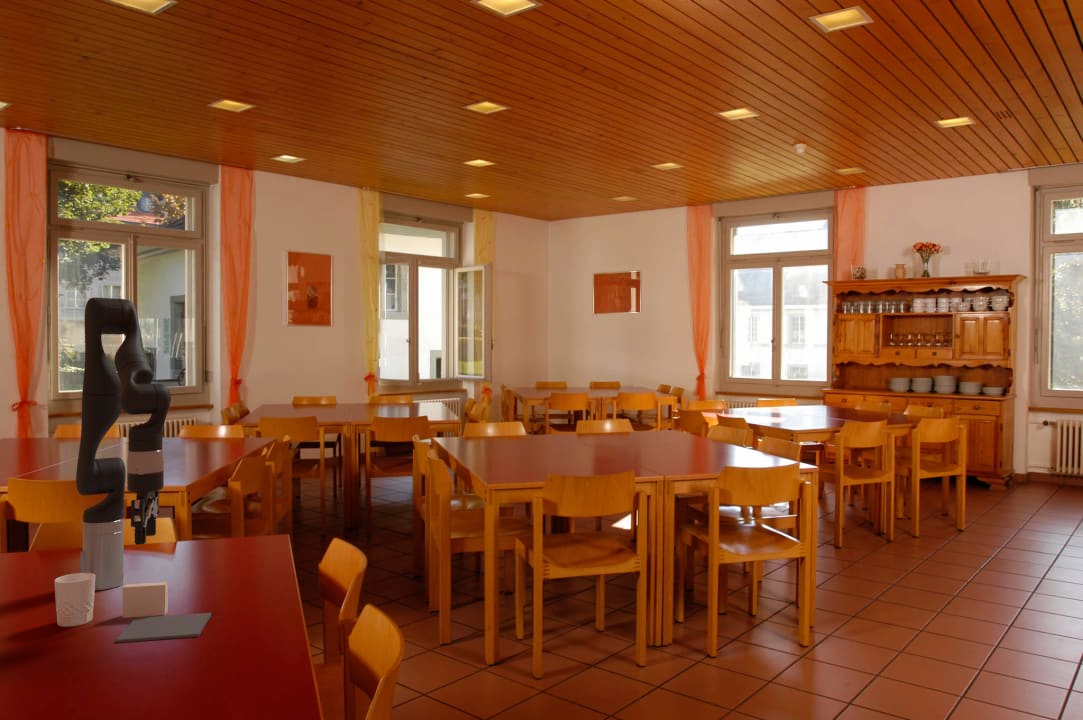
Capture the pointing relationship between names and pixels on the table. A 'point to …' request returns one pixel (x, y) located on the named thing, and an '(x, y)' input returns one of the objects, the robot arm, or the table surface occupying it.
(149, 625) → the mat
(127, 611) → the beige flat block
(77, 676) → the table surface
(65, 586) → the white cup
